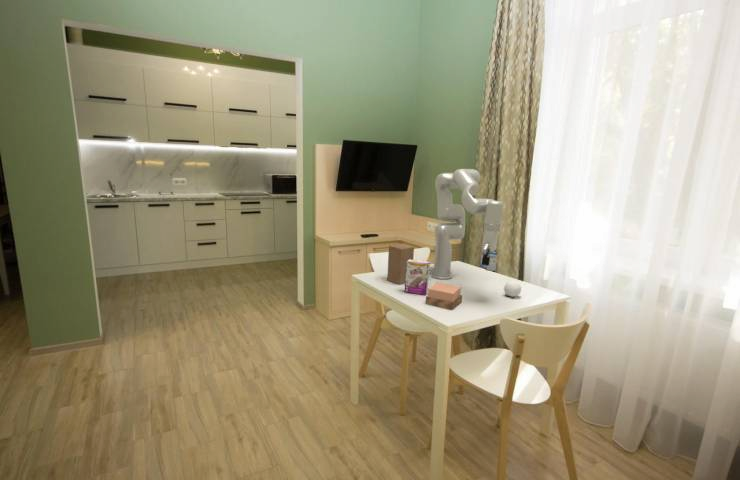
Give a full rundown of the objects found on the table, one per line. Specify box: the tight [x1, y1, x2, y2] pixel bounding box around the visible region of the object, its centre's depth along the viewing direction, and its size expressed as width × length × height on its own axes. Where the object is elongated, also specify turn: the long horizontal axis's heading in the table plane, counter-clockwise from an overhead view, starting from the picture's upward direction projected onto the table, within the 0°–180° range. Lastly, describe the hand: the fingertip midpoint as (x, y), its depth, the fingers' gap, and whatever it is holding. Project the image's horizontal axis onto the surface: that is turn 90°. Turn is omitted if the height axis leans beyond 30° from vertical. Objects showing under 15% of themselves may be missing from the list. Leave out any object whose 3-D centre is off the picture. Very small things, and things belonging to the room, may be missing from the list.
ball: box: [503, 280, 522, 298], centre depth 191 cm, size 8×8×8 cm
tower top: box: [427, 282, 462, 302], centre depth 178 cm, size 12×12×4 cm
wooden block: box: [386, 243, 415, 285], centre depth 208 cm, size 10×10×20 cm
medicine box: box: [479, 250, 498, 272], centre depth 179 cm, size 8×4×9 cm, turn 8°
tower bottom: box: [425, 294, 463, 311], centre depth 178 cm, size 13×13×4 cm
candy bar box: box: [404, 259, 431, 296], centre depth 190 cm, size 11×5×16 cm, turn 71°
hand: (488, 262), depth 180 cm, fingers closed on medicine box, 9 cm apart
